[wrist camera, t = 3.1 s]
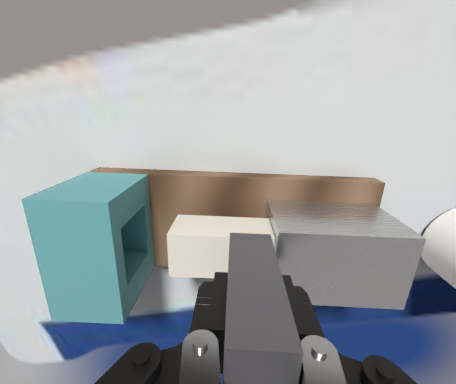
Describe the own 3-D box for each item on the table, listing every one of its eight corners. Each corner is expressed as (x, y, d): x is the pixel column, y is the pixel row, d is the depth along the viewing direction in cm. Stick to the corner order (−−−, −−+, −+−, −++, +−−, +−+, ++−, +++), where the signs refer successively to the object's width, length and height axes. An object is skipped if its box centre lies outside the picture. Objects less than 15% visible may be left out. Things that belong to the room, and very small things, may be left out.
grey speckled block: (373, 203, 18) (426, 238, 13) (360, 258, 20) (403, 309, 15) (266, 199, 19) (278, 232, 13) (262, 254, 20) (271, 303, 15)
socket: (147, 174, 18) (108, 202, 13) (154, 265, 21) (123, 324, 15) (88, 171, 18) (21, 199, 13) (102, 263, 21) (51, 320, 15)
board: (374, 178, 19) (385, 183, 18) (354, 264, 22) (362, 275, 20) (98, 167, 20) (88, 171, 18) (110, 253, 22) (102, 263, 21)
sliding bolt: (375, 218, 17) (569, 366, 7) (365, 262, 18) (519, 443, 8) (177, 210, 17) (100, 342, 8) (179, 254, 19) (113, 419, 9)
